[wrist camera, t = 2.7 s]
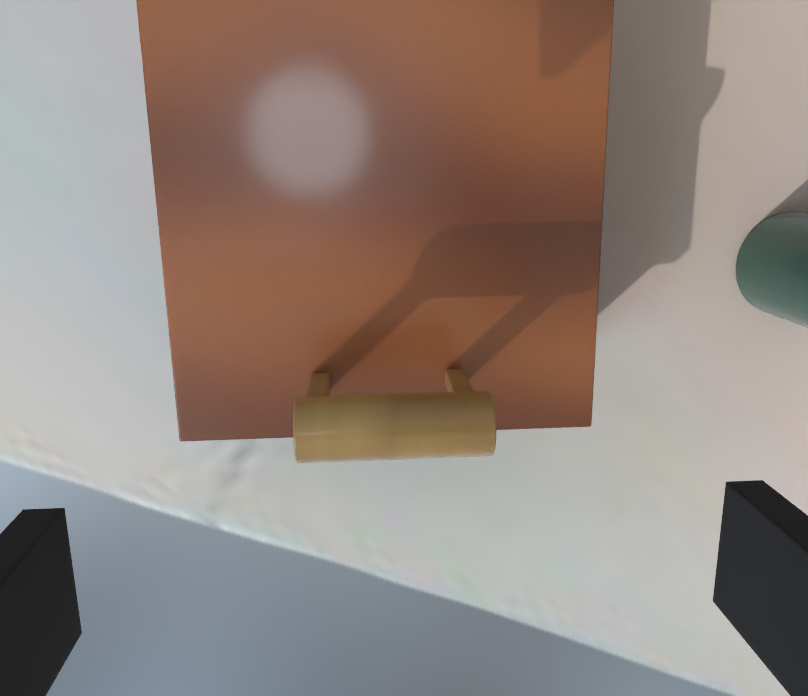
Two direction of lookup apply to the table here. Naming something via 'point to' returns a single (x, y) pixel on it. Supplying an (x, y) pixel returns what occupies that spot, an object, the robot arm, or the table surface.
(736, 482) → the robot arm
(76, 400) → the table surface
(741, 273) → the tea tin
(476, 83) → the case lid
